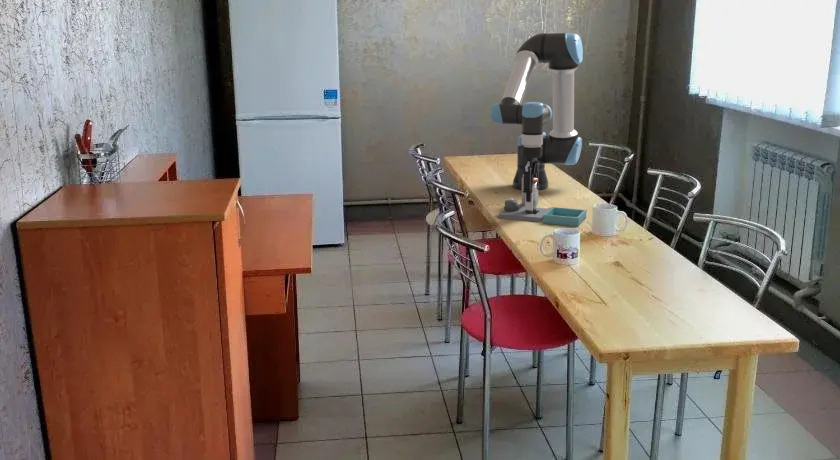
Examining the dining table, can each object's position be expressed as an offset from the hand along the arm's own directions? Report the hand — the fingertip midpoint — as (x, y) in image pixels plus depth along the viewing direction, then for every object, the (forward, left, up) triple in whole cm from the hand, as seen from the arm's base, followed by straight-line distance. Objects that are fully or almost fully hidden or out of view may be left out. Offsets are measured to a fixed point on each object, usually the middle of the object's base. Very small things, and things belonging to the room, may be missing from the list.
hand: (530, 208), depth 291 cm
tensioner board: (0, -2, -3) cm, 3 cm away
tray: (+2, +14, -3) cm, 14 cm away
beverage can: (-16, -5, -3) cm, 17 cm away
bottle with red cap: (0, 0, -3) cm, 3 cm away
